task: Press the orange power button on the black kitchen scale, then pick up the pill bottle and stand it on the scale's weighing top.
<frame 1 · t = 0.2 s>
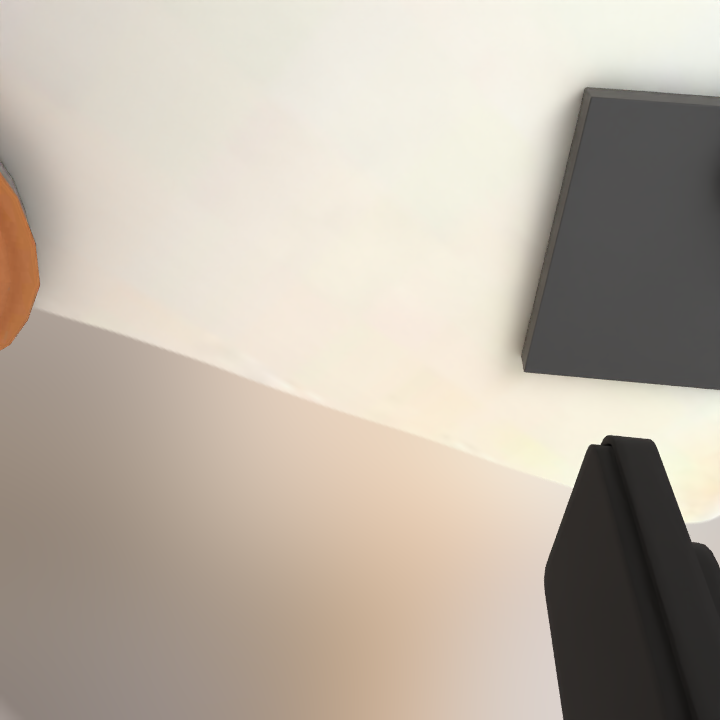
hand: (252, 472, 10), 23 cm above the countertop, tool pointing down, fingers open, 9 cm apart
scale: (676, 249, 32), on the countertop
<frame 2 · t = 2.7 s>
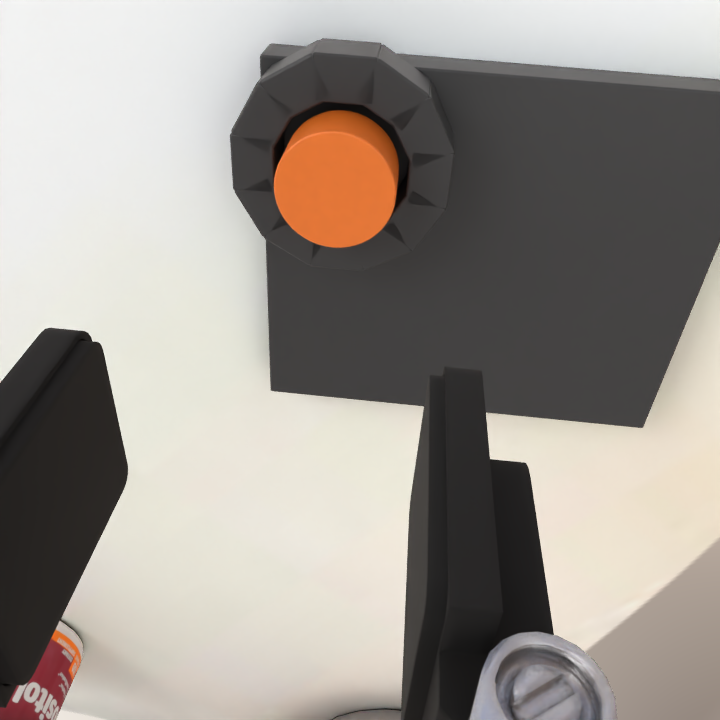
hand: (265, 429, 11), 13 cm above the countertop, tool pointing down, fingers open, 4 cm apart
scale: (478, 249, 23), on the countertop
power button: (338, 180, 18), point 4 cm above the countertop, slide at 0.1 cm
pill bottle: (37, 631, 41), on the countertop
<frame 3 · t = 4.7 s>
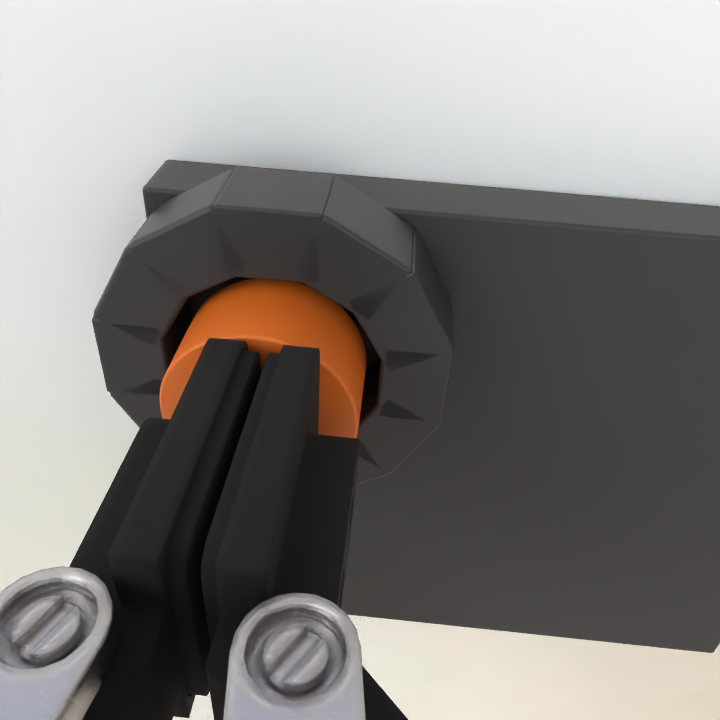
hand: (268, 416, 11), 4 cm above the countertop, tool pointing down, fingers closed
scale: (487, 430, 16), on the countertop
power button: (268, 384, 12), point 3 cm above the countertop, slide at -0.1 cm, touching gripper
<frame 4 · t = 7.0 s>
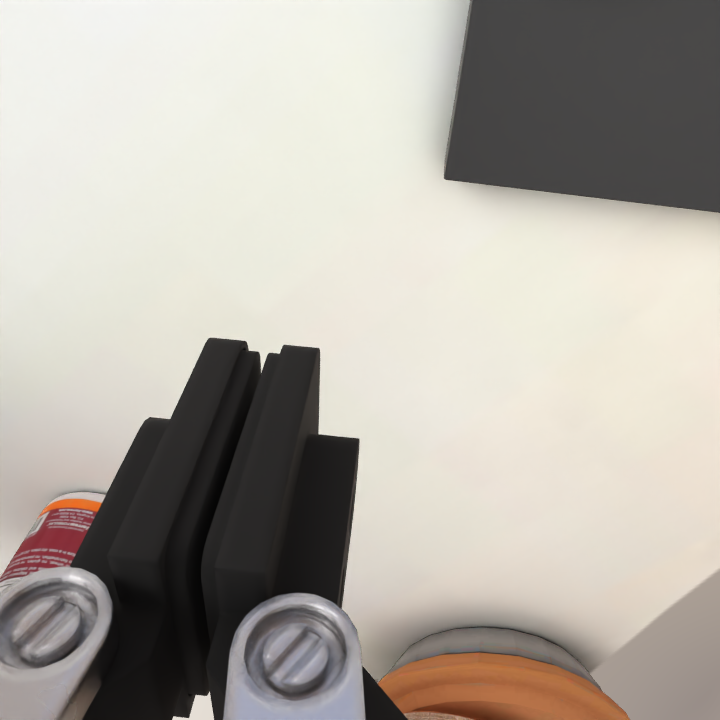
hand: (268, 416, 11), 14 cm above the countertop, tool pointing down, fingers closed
pie: (490, 675, 41), on the countertop, touching planter
pill bottle: (104, 523, 37), on the countertop
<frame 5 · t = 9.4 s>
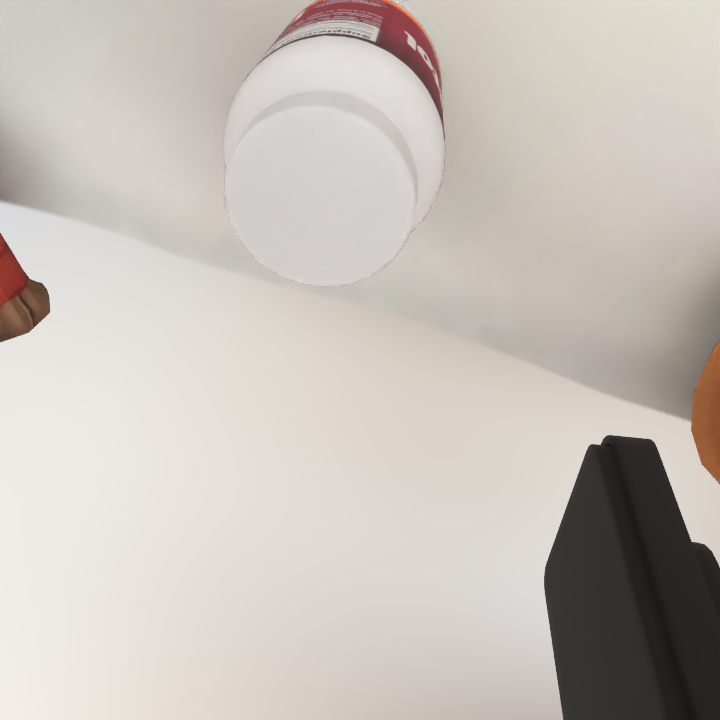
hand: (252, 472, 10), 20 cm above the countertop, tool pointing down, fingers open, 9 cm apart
pill bottle: (357, 79, 25), on the countertop
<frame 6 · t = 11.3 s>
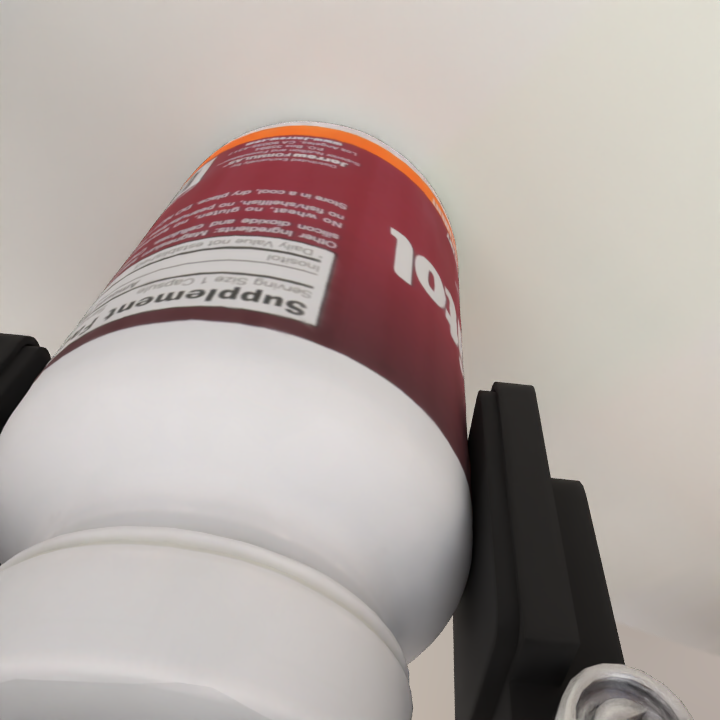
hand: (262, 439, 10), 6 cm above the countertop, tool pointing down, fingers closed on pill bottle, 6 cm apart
pill bottle: (318, 247, 15), on the countertop, touching gripper
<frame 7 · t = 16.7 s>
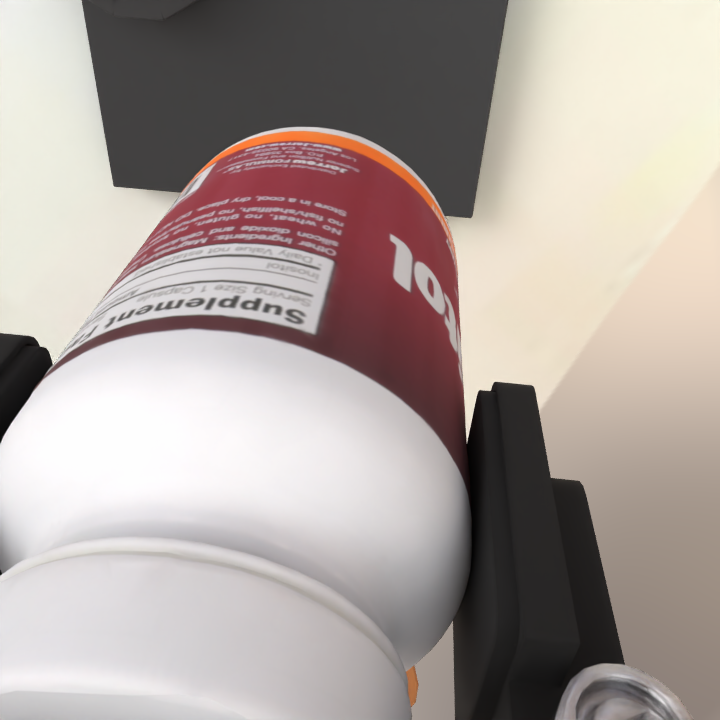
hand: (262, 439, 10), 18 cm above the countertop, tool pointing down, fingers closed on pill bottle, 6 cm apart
scale: (296, 26, 24), on the countertop
pie: (306, 624, 46), on the countertop, touching planter
pill bottle: (318, 251, 15), point 12 cm above the countertop, touching gripper
when the fingers open (7 cm above the countertop, at t = 19.8 s): pill bottle stays where it is, resting on scale.
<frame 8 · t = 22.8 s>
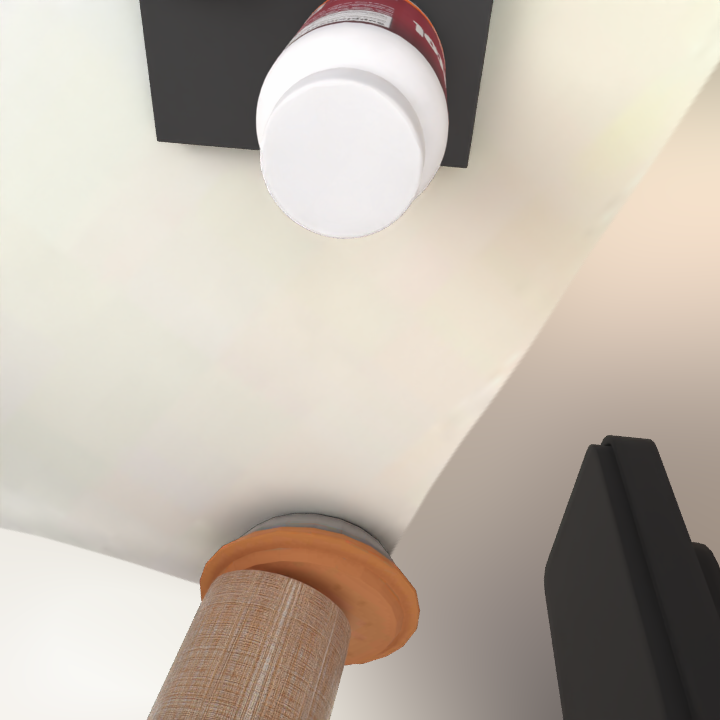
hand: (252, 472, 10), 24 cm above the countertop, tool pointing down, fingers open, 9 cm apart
scale: (317, 0, 28), on the countertop
planter: (281, 609, 46), point 5 cm above the countertop, touching pie
pie: (316, 560, 51), on the countertop, touching planter
pill bottle: (370, 66, 28), point 1 cm above the countertop, touching scale
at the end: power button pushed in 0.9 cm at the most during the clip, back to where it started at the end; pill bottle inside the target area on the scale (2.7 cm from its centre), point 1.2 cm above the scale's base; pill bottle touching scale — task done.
